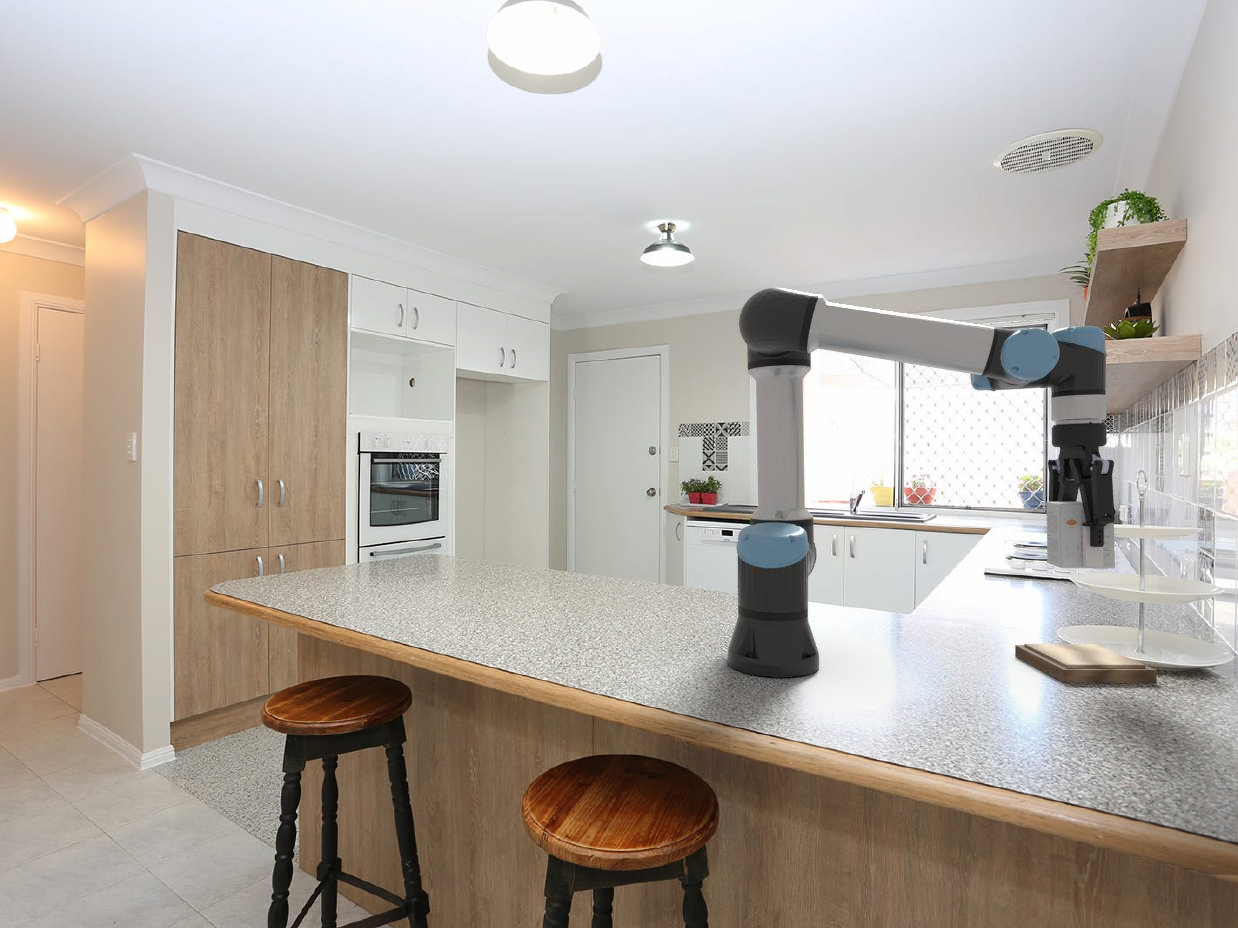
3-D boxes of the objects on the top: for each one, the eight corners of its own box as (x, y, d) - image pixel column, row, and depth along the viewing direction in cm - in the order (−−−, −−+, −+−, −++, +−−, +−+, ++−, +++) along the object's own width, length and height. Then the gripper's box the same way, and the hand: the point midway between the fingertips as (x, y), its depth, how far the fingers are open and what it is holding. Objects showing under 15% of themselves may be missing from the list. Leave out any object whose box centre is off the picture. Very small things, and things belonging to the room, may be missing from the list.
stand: (1063, 682, 107) (1063, 666, 107) (1015, 656, 121) (1015, 642, 121) (1156, 682, 107) (1156, 666, 107) (1097, 656, 121) (1097, 642, 121)
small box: (1099, 563, 116) (1098, 500, 116) (1115, 569, 110) (1115, 503, 110) (1046, 563, 118) (1045, 501, 117) (1060, 568, 112) (1059, 503, 112)
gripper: (1143, 419, 104) (1145, 573, 104) (1066, 425, 123) (1068, 555, 123) (1092, 420, 104) (1093, 573, 105) (1023, 425, 123) (1024, 555, 124)
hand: (1079, 563), depth 114 cm, fingers closed on small box, 6 cm apart
